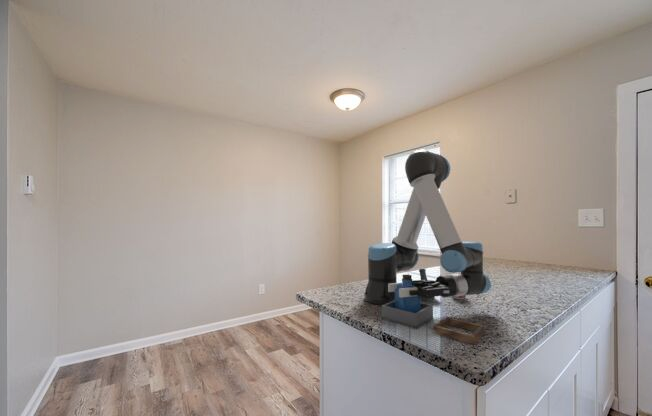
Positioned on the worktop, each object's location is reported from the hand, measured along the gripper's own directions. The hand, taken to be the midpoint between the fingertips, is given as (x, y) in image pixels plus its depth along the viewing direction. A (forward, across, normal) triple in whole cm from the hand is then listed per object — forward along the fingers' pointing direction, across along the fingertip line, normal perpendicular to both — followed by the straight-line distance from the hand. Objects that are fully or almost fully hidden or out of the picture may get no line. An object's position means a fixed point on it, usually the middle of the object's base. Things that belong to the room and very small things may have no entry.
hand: (394, 290), depth 94 cm
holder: (-14, -15, -10) cm, 22 cm away
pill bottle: (-41, +16, -10) cm, 45 cm away
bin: (-5, 0, -10) cm, 11 cm away
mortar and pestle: (-27, +20, -10) cm, 35 cm away
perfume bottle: (-5, 0, -8) cm, 9 cm away
